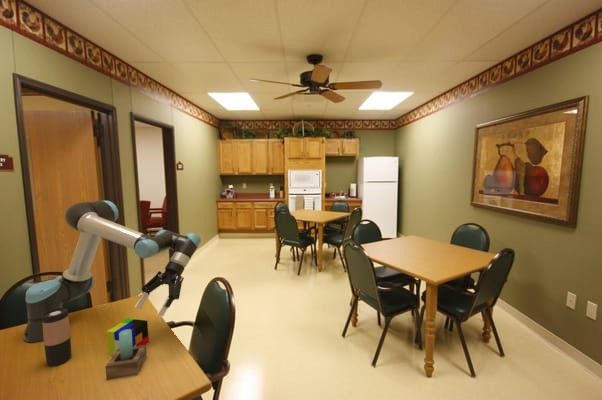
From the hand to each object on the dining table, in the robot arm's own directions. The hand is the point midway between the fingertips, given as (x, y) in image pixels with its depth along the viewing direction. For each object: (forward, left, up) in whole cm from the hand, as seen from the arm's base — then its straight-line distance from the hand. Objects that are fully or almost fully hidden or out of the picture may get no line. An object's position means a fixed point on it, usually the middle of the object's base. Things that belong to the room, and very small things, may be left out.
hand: (148, 311), depth 108 cm
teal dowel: (+7, -6, -15) cm, 18 cm away
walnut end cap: (+7, -6, -17) cm, 20 cm away
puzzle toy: (-6, -10, -18) cm, 21 cm away
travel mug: (-4, -34, -18) cm, 38 cm away
